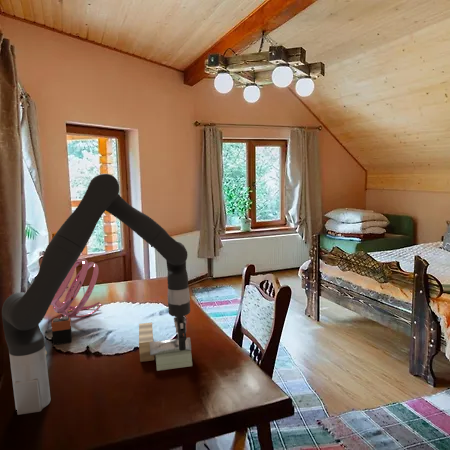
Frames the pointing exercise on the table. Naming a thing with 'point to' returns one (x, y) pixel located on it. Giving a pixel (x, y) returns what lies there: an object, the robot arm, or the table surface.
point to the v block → (173, 360)
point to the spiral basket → (75, 291)
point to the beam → (145, 341)
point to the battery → (61, 330)
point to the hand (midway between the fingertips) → (181, 344)
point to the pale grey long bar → (168, 346)
